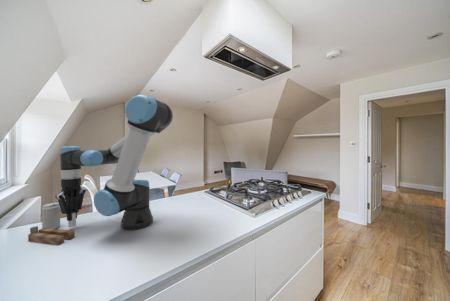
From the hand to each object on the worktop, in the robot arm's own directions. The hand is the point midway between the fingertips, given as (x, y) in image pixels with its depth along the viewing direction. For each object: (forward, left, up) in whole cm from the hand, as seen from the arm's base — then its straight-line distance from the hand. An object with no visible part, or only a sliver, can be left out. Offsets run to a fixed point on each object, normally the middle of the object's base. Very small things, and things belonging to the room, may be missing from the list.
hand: (72, 226), depth 88 cm
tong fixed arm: (0, +11, -2) cm, 11 cm away
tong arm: (-1, +8, -1) cm, 8 cm away
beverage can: (+11, +1, -2) cm, 11 cm away
